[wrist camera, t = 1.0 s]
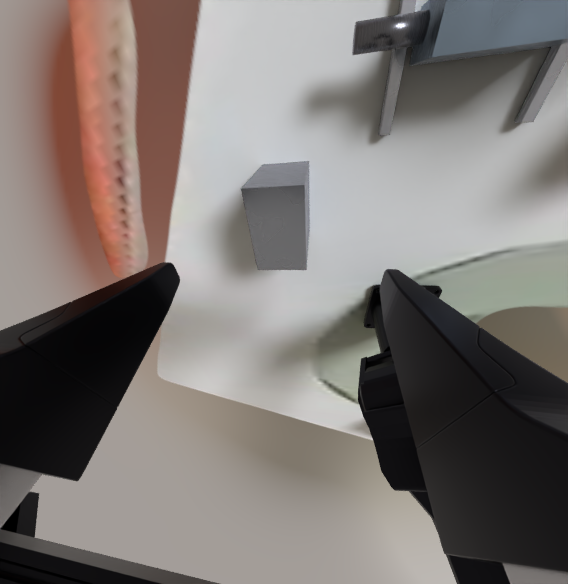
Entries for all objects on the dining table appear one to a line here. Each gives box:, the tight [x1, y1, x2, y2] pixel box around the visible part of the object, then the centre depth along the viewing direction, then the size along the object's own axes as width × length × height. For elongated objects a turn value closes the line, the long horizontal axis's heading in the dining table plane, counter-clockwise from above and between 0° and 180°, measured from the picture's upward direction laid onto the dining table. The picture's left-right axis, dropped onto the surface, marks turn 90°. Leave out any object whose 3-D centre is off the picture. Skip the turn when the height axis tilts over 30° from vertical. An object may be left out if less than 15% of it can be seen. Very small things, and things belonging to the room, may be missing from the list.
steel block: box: [241, 161, 310, 270], centre depth 15 cm, size 4×6×6 cm, turn 5°
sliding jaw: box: [353, 0, 568, 66], centre depth 10 cm, size 2×10×3 cm, turn 95°
